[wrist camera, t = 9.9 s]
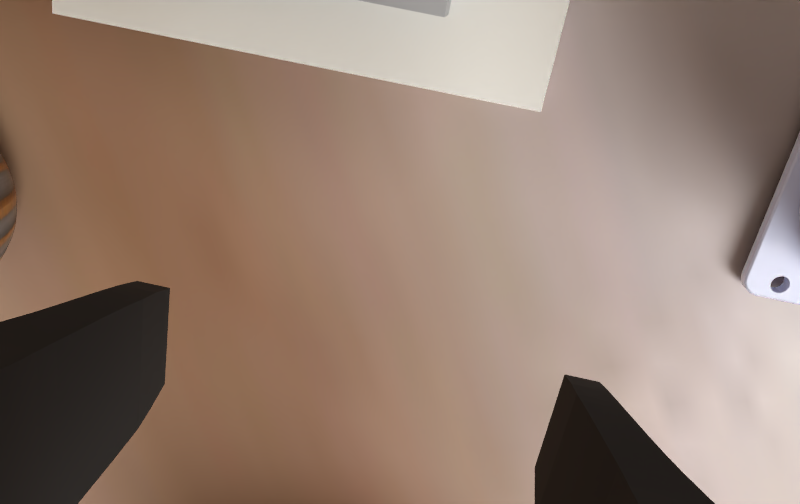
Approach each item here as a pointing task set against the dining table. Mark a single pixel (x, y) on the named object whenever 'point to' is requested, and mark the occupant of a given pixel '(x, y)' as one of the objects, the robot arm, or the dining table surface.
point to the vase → (6, 206)
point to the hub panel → (370, 37)
